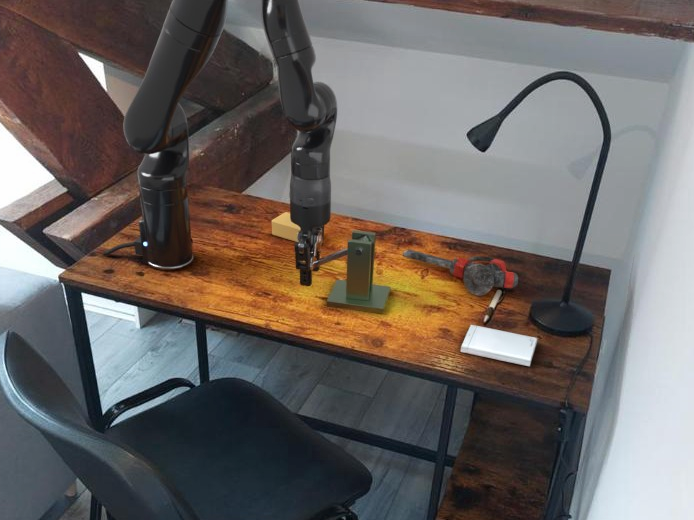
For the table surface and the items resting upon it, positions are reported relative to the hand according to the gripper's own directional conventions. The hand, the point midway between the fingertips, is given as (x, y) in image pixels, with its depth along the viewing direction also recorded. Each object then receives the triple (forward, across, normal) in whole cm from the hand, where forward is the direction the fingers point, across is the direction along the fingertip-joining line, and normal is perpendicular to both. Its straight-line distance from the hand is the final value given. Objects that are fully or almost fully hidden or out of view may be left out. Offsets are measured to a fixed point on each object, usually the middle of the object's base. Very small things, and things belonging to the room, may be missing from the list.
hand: (309, 277), depth 158 cm
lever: (-4, 0, +6) cm, 7 cm away
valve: (+4, -17, +29) cm, 34 cm away
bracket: (+3, 0, +10) cm, 10 cm away
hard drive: (+4, +11, +38) cm, 40 cm away
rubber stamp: (+3, -24, -9) cm, 26 cm away
